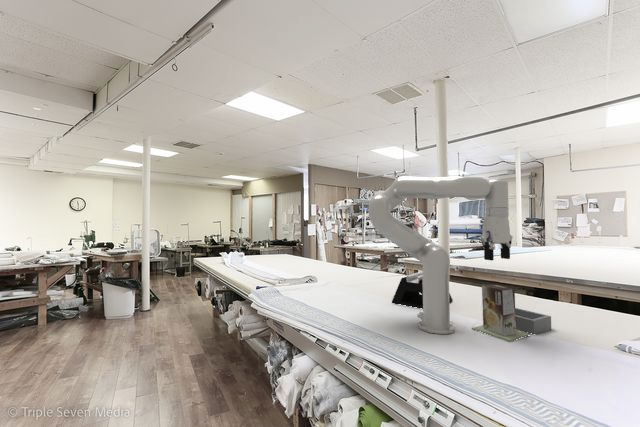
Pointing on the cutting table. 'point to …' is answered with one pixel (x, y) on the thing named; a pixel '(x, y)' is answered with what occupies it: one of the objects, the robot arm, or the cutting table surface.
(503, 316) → the coffee box
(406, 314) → the cutting table surface
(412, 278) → the device stand
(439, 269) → the robot arm
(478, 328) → the mat
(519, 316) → the grey open frame
